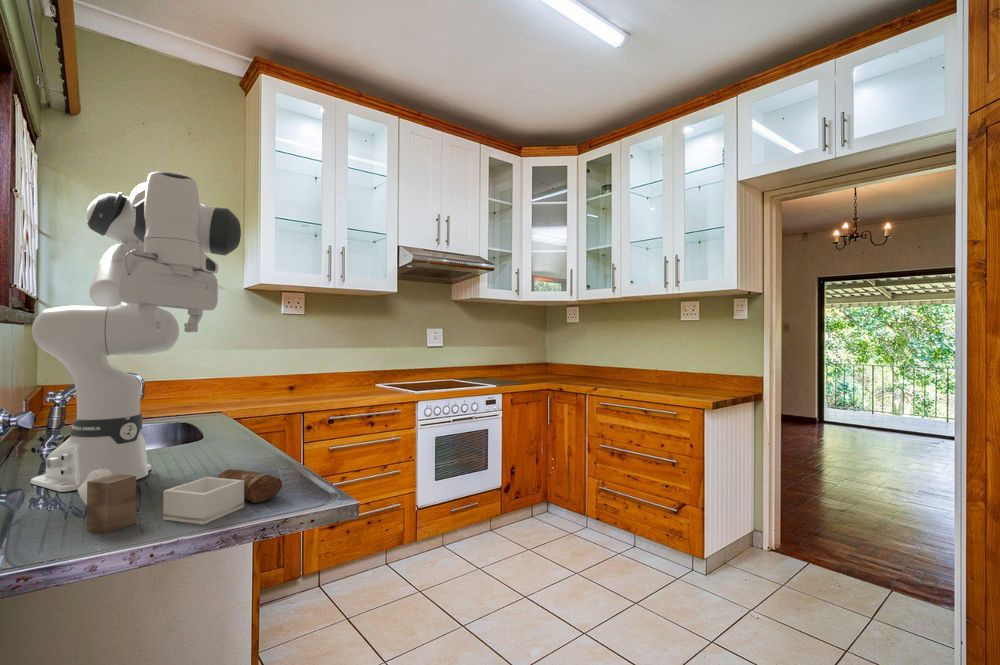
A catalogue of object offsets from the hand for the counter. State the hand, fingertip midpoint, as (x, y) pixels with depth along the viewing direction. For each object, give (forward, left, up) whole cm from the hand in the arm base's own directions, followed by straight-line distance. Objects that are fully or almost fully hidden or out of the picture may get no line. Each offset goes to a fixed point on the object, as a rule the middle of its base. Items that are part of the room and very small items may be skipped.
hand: (172, 331), depth 90 cm
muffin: (-15, -2, -33) cm, 36 cm away
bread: (+7, +10, -33) cm, 35 cm away
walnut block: (-2, -9, -33) cm, 34 cm away
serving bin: (+8, 0, -33) cm, 34 cm away
